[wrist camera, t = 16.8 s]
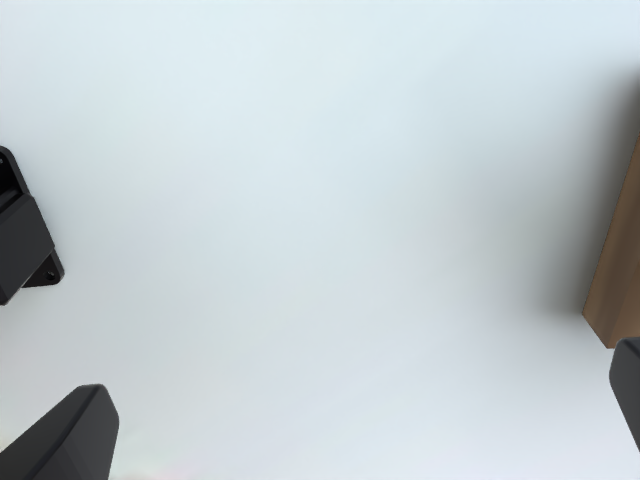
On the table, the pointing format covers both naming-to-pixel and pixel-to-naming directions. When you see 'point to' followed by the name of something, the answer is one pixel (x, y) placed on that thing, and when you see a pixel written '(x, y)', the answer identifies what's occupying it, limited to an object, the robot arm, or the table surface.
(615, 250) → the walnut block
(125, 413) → the table surface
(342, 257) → the table surface
